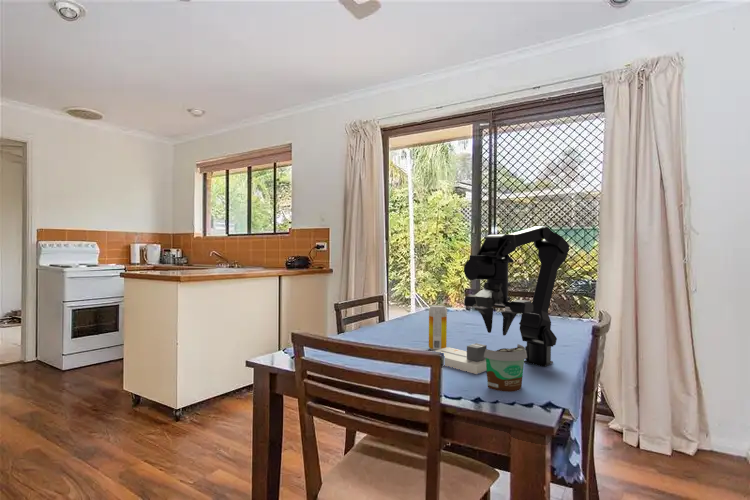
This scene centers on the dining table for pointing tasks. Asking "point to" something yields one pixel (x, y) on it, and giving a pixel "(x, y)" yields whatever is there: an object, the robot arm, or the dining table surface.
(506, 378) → the food container
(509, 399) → the dining table surface
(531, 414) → the dining table surface
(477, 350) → the fader cap
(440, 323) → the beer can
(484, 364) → the fader console
